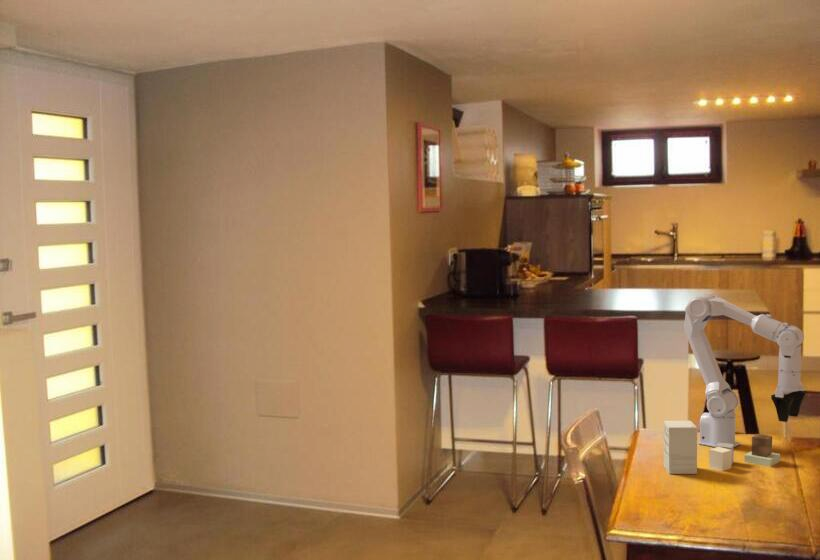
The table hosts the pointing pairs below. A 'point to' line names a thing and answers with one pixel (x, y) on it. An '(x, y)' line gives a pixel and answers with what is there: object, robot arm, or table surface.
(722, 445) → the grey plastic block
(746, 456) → the sage slab
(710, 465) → the cream block
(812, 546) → the table surface
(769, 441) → the walnut block
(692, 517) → the table surface
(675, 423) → the supplement box
